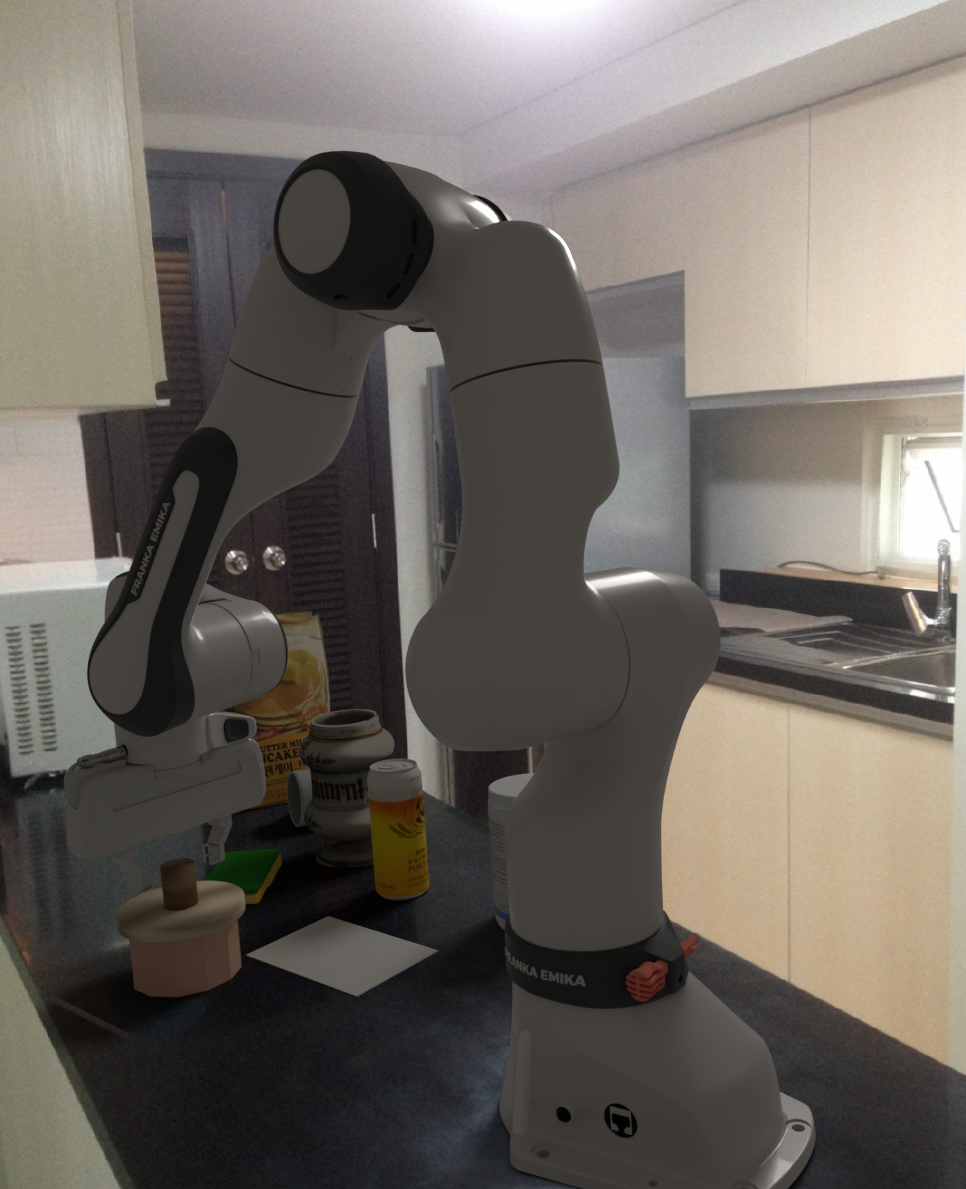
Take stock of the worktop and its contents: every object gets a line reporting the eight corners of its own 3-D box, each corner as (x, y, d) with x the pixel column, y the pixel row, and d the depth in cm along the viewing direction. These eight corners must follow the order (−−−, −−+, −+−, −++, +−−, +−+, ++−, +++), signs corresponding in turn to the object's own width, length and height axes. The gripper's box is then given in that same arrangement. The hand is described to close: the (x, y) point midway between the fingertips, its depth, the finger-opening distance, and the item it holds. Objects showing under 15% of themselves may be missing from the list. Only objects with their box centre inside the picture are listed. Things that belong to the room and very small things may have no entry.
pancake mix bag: (213, 805, 162) (195, 620, 159) (332, 781, 171) (318, 606, 168) (225, 816, 156) (207, 624, 153) (348, 791, 165) (333, 609, 162)
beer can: (422, 905, 119) (412, 772, 117) (369, 904, 120) (358, 772, 119) (435, 884, 125) (426, 757, 123) (385, 883, 126) (375, 757, 124)
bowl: (262, 967, 106) (256, 908, 105) (174, 1010, 98) (167, 947, 98) (200, 944, 112) (195, 888, 112) (113, 982, 105) (107, 923, 104)
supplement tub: (581, 943, 107) (572, 798, 105) (487, 941, 109) (477, 798, 107) (591, 904, 116) (584, 770, 115) (504, 902, 118) (496, 771, 117)
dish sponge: (196, 914, 122) (194, 893, 122) (226, 870, 136) (224, 851, 135) (259, 909, 122) (257, 889, 121) (282, 866, 135) (280, 847, 135)
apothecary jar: (295, 874, 131) (282, 729, 129) (323, 840, 143) (312, 706, 141) (392, 873, 129) (381, 725, 127) (412, 839, 141) (402, 703, 139)
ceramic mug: (360, 821, 150) (355, 767, 149) (303, 833, 146) (298, 778, 146) (334, 804, 159) (330, 753, 159) (280, 815, 156) (275, 763, 155)
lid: (270, 907, 105) (266, 855, 105) (164, 953, 96) (159, 897, 96) (197, 883, 113) (192, 835, 113) (92, 924, 104) (87, 872, 103)
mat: (438, 954, 106) (438, 950, 106) (357, 1000, 98) (357, 996, 98) (328, 919, 117) (328, 916, 117) (246, 958, 108) (246, 954, 108)
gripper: (81, 765, 93) (98, 920, 94) (269, 715, 108) (281, 849, 110) (43, 757, 97) (60, 905, 98) (230, 710, 112) (242, 839, 114)
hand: (178, 875), depth 104 cm, fingers open, 7 cm apart
